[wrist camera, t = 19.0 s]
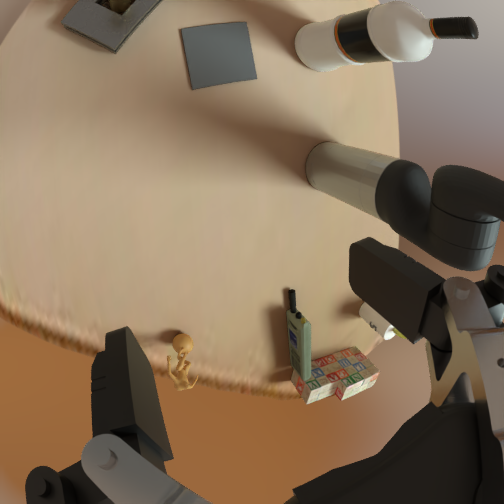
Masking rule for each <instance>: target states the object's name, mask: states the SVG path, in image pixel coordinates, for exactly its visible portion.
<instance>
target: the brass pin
mask: <svg viewBox="0 0 504 504" xmlns="http://www.w3.org/2000/svg"><path fill="white" fill-rule="evenodd" d="M131 1H132V0H109V5H110V9H111V11H113V12H115V13H122V12H125V11H126V10H127V9H128V8H129V7H130V6H131Z"/></svg>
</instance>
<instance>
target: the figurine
mask: <svg viewBox="0 0 504 504" xmlns="http://www.w3.org/2000/svg"><path fill="white" fill-rule="evenodd" d="M173 348H174V350H175V351H176V352H178V360H179V362H178V365H177V367H176V370H178V375H177V378H176V377H175V376H174V375H173V374H171V369H170V360H171V359H172V358H171V359H170V357H171V356H170V357H169V356H167V361H168V375H169V376H170V377H171V378H172V379H173V381H174V383H175V388H176V389H177V390H180V391H181V390H183V389H190V388H192V387H193V386H194V384H195V383H196V381H197V379H198V376H197V378H196V380H194V382H193V383H192V384H191V386H190V385H189V382H188V379H187V377H186V376H187V375H188V370H189V368H190V366H191V363H190V362H189V361H186V360H185V358H186V355H187V354H188V353H189V352H190V351H191V350H192V348H193V340H192V338H191V337H190V336H189V335H187V334H178V335H177V336H175V338H174V339H173ZM181 354H184V356H183V357H181V356H180V355H181ZM184 364H186V365H185V366H184ZM183 367H184V368H183Z"/></svg>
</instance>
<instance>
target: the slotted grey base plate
mask: <svg viewBox="0 0 504 504" xmlns="http://www.w3.org/2000/svg"><path fill="white" fill-rule="evenodd" d="M105 1H106V0H79V1H78V2H77V3H76V4H75V5H74V6H73V8H72V9H71V10H70V11H69V12H68V14H67V15H66V16H65V17H64V18H63V20H62V21H61V23H62V25H64V27H65V28H66V29H68V30H70V31H72V32H74V33H76V34H78V35H80V36H82V37H84V38H86V39H88V40H90V41H92V42H94V43H96V44H98V45H100V46H102V47H104V48H106V49H108V50H110V51H111V52H113V53H115V54H116V53H117V52H118V50H119V49H120V48H121V47H122V45H123V44H124V43H125V42H126V41H127V39H128V38H129V37H130V36H131V35H132V33H133V32H134V31H135V30H136V29H137V28H138V26H139V25H140V24H141V23H142V22H143V21H144V20H145V19H146V18H147V16H148V15H149V14H150V13H151V12H152V11H153V10H154V9H155V8H156V7H157V6H158V5H159V4H160V3H161V2H162V1H163V0H136V1H135V2H134V3H133V4H132V5H131V6H130V7H129V8H128V9H127V10H126V12H125V13H124V14H123V15H122V16H121V15H119V14H117V13H115V12H113V11H111V10H109V9H107V8H105V7H103V6H101V5H102V4H103V3H104V2H105Z"/></svg>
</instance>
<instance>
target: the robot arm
mask: <svg viewBox="0 0 504 504" xmlns="http://www.w3.org/2000/svg"><path fill="white" fill-rule="evenodd" d="M306 175H307V178H308V181H309V182H310V184H311V185H312V186H313V187H314V188H315V189H317V190H319V191H322V192H324V193H326V194H328V195H330V196H332V197H334V198H337V199H339V200H341V201H343V202H345V203H347V204H349V205H351V206H354V207H356V208H358V209H360V210H362V211H364V212H366V213H368V214H370V215H372V216H374V217H376V218H378V219H380V220H382V221H384V222H386V223H388V224H389V225H390V227H391V228H392V229H393V230H394V231H395V232H396V233H398V234H399V235H401V236H402V237H404V238H406V239H407V240H409V241H410V242H412V243H413V244H415V245H417V246H418V247H420V248H421V249H422V250H424V251H425V252H427V253H428V254H430V255H431V256H433V257H434V258H436V259H438V260H440V261H441V262H443V263H445V264H447V265H449V266H451V267H454V268H457V269H460V270H465V271H477V270H481V269H483V268H484V267H486V266H487V265H488V263H489V262H490V260H491V258H492V255H493V251H494V248H495V244H496V240H497V235H498V231H499V227H500V222H501V220H502V221H503V222H504V181H502V180H500V179H498V178H495V177H493V176H491V175H488V174H486V173H483V172H481V171H478V170H475V169H472V168H468V167H464V166H458V165H446V166H442V167H440V168H438V169H437V170H436V172H435V173H434V176H433V181H432V188H431V186H430V182H429V179H428V176H427V174H426V172H425V171H424V170H423V168H422V167H420V166H419V165H418V164H415V163H413V162H410V161H406V160H402V159H399V158H395V157H391V156H388V155H384V154H380V153H376V152H372V151H368V150H364V149H359V148H355V147H351V146H346V145H342V144H337V143H332V142H324V143H321V144H319V145H317V146H316V147H315V148H314V149H313V150H312V151H311V152H310V154H309V156H308V159H307V162H306ZM349 283H350V286H351V288H352V290H353V291H354V293H355V294H356V295H357V296H359V297H360V298H361V299H362V300H363V301H365V302H366V303H367V304H368V305H369V306H370V307H372V308H373V309H374V310H375V311H376V312H377V313H378V314H380V315H381V316H382V317H383V318H384V319H385V320H387V321H388V322H389V323H390V324H391V325H392V326H393V327H395V328H396V329H397V330H398V331H399V332H400V333H401V334H402V335H404V336H405V337H406V338H407V339H409V341H410V342H412V343H413V344H415V343H416V342H417V341H419V340H420V339H422V338H423V337H425V338H426V339H427V341H426V346H425V347H426V353H427V359H428V365H429V372H430V379H431V396H430V400H429V403H428V404H427V405H426V406H425V407H424V408H423V409H421V410H420V411H419V412H418V413H416V414H415V415H414V416H413V417H412V418H410V419H409V420H407V421H406V422H405V423H404V424H403V425H402V426H401V428H400V429H399V430H398V431H397V432H396V434H395V435H394V436H393V437H392V438H391V440H390V441H389V442H388V443H387V444H386V445H385V446H384V448H383V449H382V450H381V451H380V452H379V453H378V454H376V455H374V456H372V457H369V458H366V459H363V460H361V461H358V462H355V463H352V464H349V465H345V466H343V467H339V468H336V469H333V470H331V471H329V472H327V473H325V474H323V475H321V476H319V477H317V478H315V479H313V480H311V481H309V482H307V483H305V484H303V485H301V486H299V487H297V488H294V489H293V493H294V496H293V497H292V498H290V499H289V500H288V501H286V502H285V503H284V504H504V323H503V322H502V320H503V318H504V266H502V265H493V266H490V267H489V268H488V270H487V274H486V277H485V280H482V281H478V282H475V283H474V282H472V281H471V280H469V279H467V278H464V277H450V278H448V279H447V280H445V279H444V278H442V277H441V276H439V275H438V274H436V273H434V272H433V271H431V270H430V269H428V268H427V267H425V266H424V265H422V264H420V263H419V262H416V261H415V260H414V259H413V258H411V257H407V255H406V254H404V253H403V252H401V251H400V250H398V249H396V248H392V247H389V246H386V245H383V244H381V243H380V242H378V241H376V240H375V239H373V238H371V237H367V238H365V239H362V240H360V241H357V242H355V243H352V244H351V246H350V249H349ZM91 380H92V383H91V391H92V394H91V403H92V404H91V408H92V431H93V438H92V439H91V440H90V441H89V442H88V443H87V444H86V445H85V447H84V449H83V451H82V456H81V460H80V461H78V462H77V463H75V464H73V465H71V466H70V467H67V468H66V469H64V470H62V471H60V472H56V471H55V470H53V469H51V468H50V467H47V466H39V467H36V468H35V469H33V470H32V471H31V472H30V474H29V475H28V477H27V480H26V485H25V491H26V501H27V504H213V503H211V502H209V501H207V500H206V499H204V498H202V497H201V496H199V495H198V494H196V493H194V492H193V491H191V490H190V489H188V488H186V487H185V486H183V485H182V484H180V483H179V482H177V481H175V480H174V479H173V478H171V477H170V476H168V475H167V472H166V469H165V465H164V461H168V460H172V459H173V458H174V457H173V454H172V450H171V447H170V443H169V440H168V436H167V432H166V428H165V424H164V420H163V416H162V412H161V407H160V403H159V398H158V394H157V389H156V384H155V379H154V374H153V371H152V368H151V365H150V363H149V361H148V359H147V357H146V355H145V354H144V352H143V350H142V349H141V347H140V345H139V343H138V342H137V340H136V338H135V337H134V335H133V333H132V331H131V330H130V328H129V327H128V326H126V327H123V328H120V329H117V330H114V331H111V332H108V333H106V336H105V351H102V352H99V353H97V355H96V357H95V360H94V362H93V364H92V370H91Z"/></svg>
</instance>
